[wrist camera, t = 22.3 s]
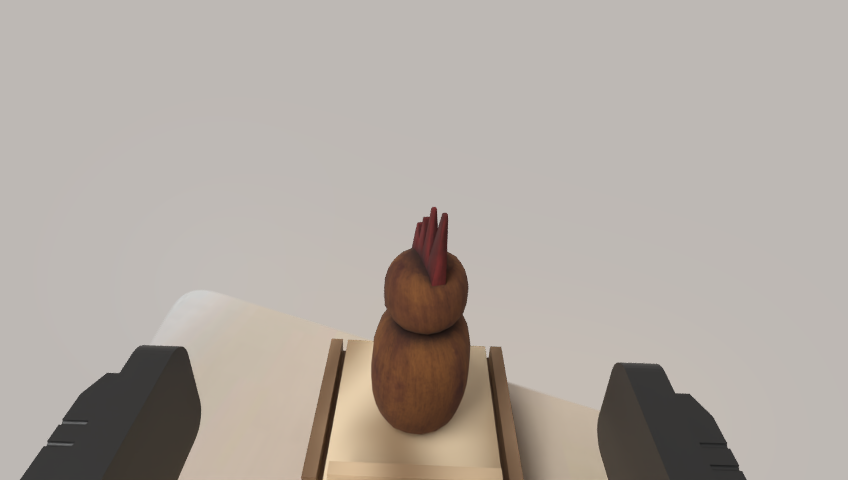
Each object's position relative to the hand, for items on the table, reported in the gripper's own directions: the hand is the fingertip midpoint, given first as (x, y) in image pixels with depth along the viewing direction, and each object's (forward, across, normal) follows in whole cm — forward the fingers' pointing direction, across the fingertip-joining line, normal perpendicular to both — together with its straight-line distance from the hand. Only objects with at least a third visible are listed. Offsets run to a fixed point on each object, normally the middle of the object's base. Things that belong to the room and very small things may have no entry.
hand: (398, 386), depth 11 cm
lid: (+17, 0, +21) cm, 26 cm away
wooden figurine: (+17, 0, +20) cm, 26 cm away
